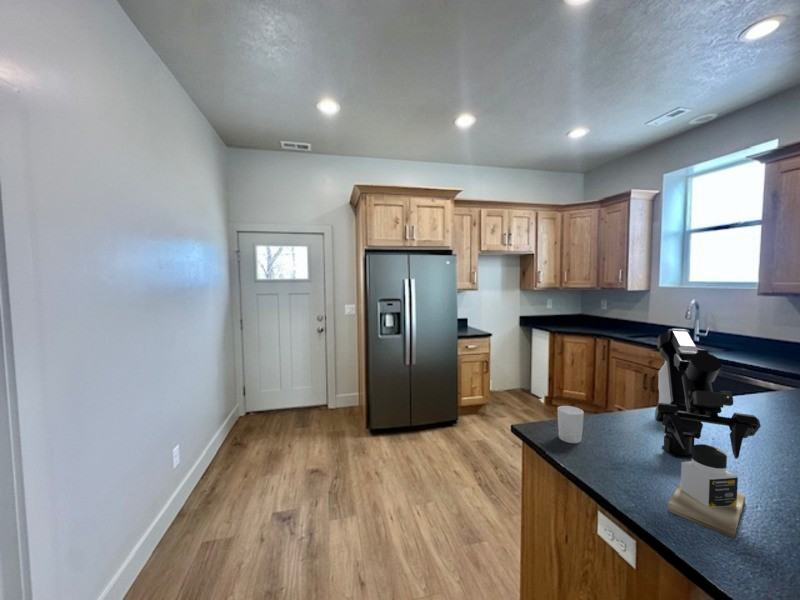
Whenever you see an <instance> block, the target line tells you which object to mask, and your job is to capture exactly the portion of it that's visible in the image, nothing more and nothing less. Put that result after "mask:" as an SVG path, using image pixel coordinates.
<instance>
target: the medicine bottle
mask: <svg viewBox="0 0 800 600" xmlns="http://www.w3.org/2000/svg"><path fill="white" fill-rule="evenodd" d="M680 465H681V467H680V469H681V470H680V483H681V490H682V491H683V492H685V493H686V494H688V495H689V496H691V497H693V498H694V499H696V500H697V501H699V502H700V503H702V504H703V505H705V506H706V507H708V508H718V507H731V506H737V492H738V485H739V484H738V483H739V477H738V475H736V474H735V473H733V472H730V471H728V470H727V469H728V468H727V467H728V455H727V453H726V452H725V451H724V450H722V449H720V448H718V447H716V446H713V445H710V444H702V443H700V444H699V443H697V444H694V446H693V447H692V458H691V460H690V461H682V462H681V463H680Z"/></svg>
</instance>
